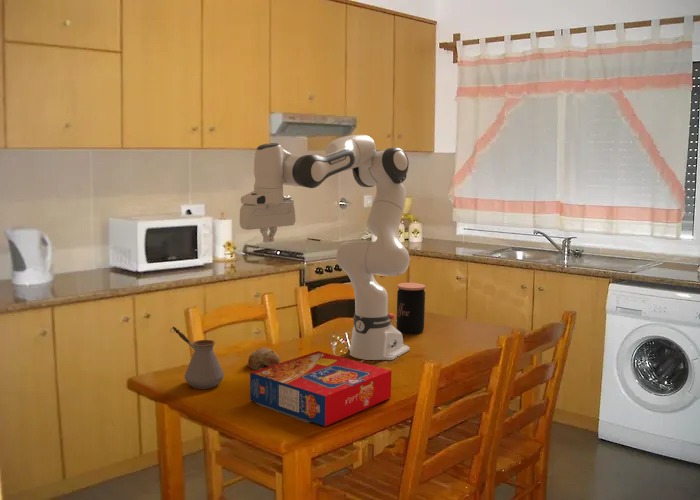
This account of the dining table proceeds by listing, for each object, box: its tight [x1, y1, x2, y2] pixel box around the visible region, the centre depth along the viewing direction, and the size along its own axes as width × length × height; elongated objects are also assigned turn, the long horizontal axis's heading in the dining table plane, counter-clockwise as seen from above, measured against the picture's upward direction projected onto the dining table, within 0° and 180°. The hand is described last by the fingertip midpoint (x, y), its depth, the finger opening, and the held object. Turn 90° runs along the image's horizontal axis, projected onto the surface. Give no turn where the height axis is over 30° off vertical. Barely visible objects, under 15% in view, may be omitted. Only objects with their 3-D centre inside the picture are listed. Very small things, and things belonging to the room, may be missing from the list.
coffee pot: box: [169, 326, 225, 390], centre depth 215 cm, size 21×12×15 cm, turn 49°
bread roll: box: [247, 346, 281, 371], centre depth 231 cm, size 10×10×8 cm
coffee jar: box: [395, 282, 426, 335], centre depth 277 cm, size 11×11×18 cm
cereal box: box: [249, 350, 392, 427], centre depth 201 cm, size 28×8×28 cm
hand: (268, 242), depth 221 cm, fingers closed
